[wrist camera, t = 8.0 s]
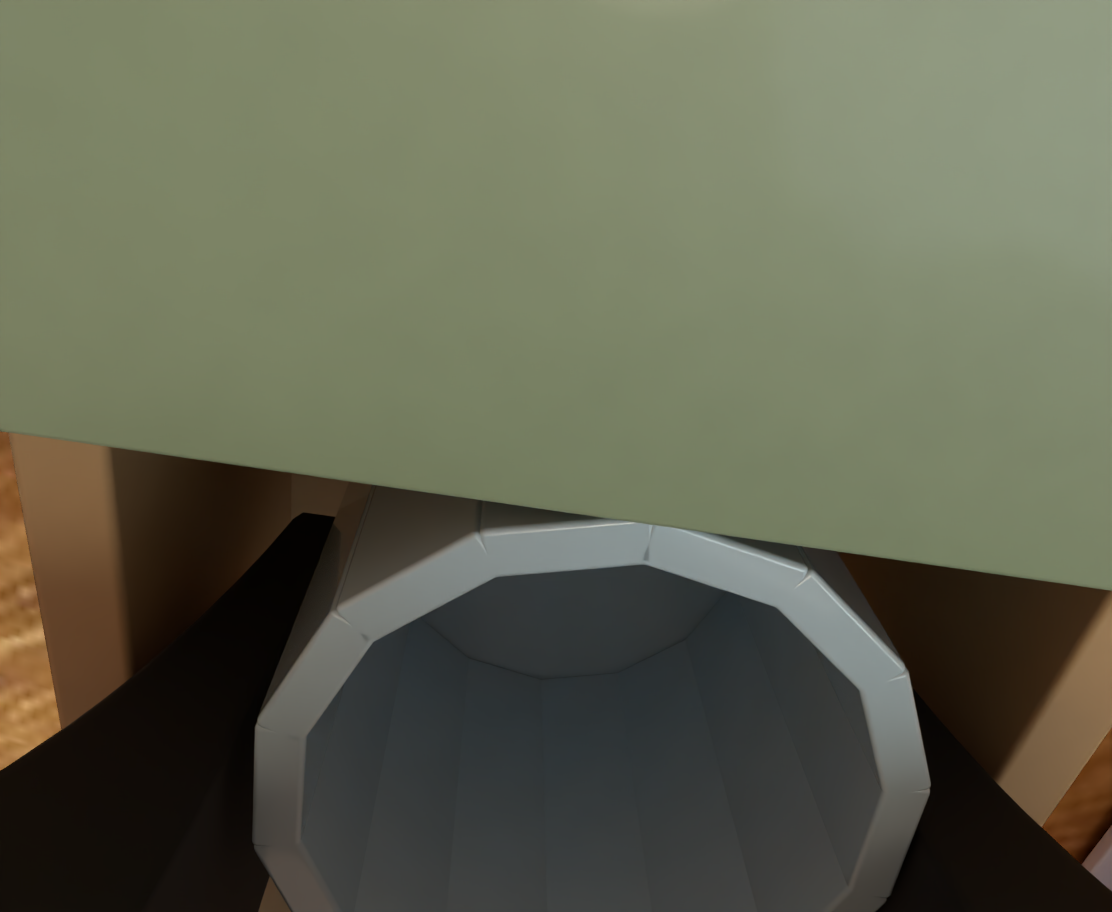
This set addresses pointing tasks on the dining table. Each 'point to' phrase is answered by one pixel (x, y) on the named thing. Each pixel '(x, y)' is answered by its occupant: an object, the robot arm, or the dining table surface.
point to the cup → (580, 721)
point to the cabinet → (584, 257)
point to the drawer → (277, 497)
